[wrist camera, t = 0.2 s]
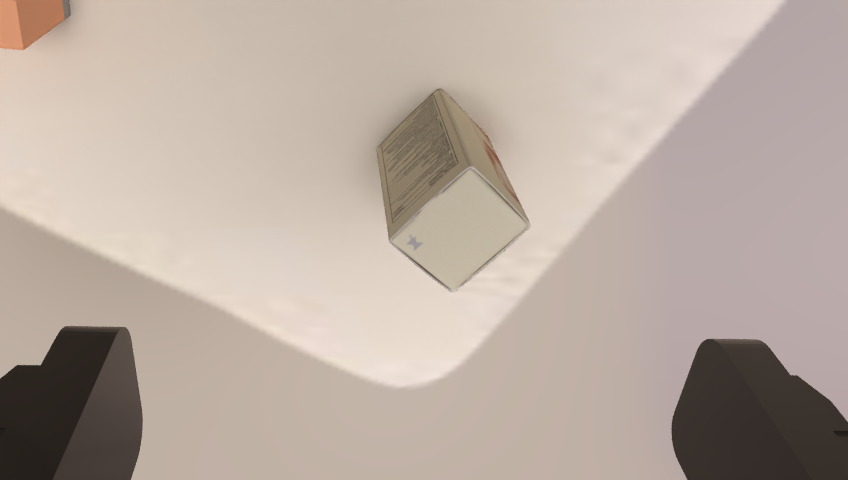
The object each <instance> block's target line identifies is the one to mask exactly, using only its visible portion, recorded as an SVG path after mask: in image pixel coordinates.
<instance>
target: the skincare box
mask: <svg viewBox="0 0 848 480" xmlns="http://www.w3.org/2000/svg"><path fill="white" fill-rule="evenodd" d="M377 156H378V163H379V171H380V178H381V186H382V192H383V200H384V207H385V214H386V221H387V229H388V236H389V242H390V243H391V244H392V245H393V246H394V247H395V248H397V249H398V250H399V251H400V252H401V253H402V254H403V255H405V256H406V257H407V258H408V259H409V260H411V261H412V262H413V263H414V264H415V265H416V266H418V267H419V268H420V269H421V270H423V271H424V272H425V273H426V274H427V275H429V276H430V277H431V278H432V279H434V280H435V281H437V282H438V283H439V284H441V285H442V286H443V287H445V288H446V289H448V290H449V291H450V292H455V291H456V290H458V289H459V288H460V287H461V286H463V285H464V284H465V283H466V282H467V281H469V280H470V279H471V278H473V277H474V276H475V275H476V274H478V273H479V272H480V271H481V270H482V269H484V268H485V267H486V266H487V265H488V264H490V263H491V262H492V261H493V260H494V259H495V258H496V257H498V256H499V255H500V254H501V253H502V252H504V251H505V250H506V249H507V248H508V247H509V246H510V245H511V244H513V243H514V242H515V241H516V240H517V239H518V238H519V237H520V236H521V235H522V234H523V233H524V232H525V231H526V230H528V229H529V228H530V223H529V220H528V218H527V216H526V214H525V212H524V210H523V208H522V206H521V204H520V202H519V200H518V198H517V196H516V193H515V191H514V189H513V187H512V185H511V183H510V181H509V179H508V177H507V175H506V173H505V171H504V169H503V167H502V165H501V163H500V161H499V159H498V157H497V155H496V153H495V151H494V149H493V146H492V144H491V142H490V140H489V138H488V137H487V135H486V134H485V133H484V132H483V131H482V130H481V129H480V128H479V127H478V126H477V125H476V124H475V122H474V121H473V120H472V119H471V118H470V117H469V116H468V115H467V114H466V113H465V112H464V111H463V110H462V109H461V108H460V107H459V106H458V105H457V104H456V103H455V102H454V101H453V100H452V99H451V98H450V97H449V96H448V95H447V94H446V93H445V92H444V91H443V90H442V89H438V90H436V91H435V92H434V93H433V94H432V95H431V96H430V97H429V98H428V99H427V100H426V101H425V102H423V103H422V104H421V105H420V106H419V107H418V108H417V109H416V110H415V111H414V112H413V113H412V114H411V115H410V116H409V117H408V118H407V119H406V120H405V121H404V122H403V123H402V124H401V125H400V126H399V127H398V128H397V129H396V130H395V131H394V132H393V133H392V134H391V135H390V136H389V137H388V138H387V139H386V140H385V141H384V142H383V143H382V144H381V145H380V146H379V147H378V148H377Z"/></svg>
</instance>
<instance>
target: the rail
mask: <svg viewBox="0 0 848 480" xmlns="http://www.w3.org/2000/svg"><path fill="white" fill-rule="evenodd" d="M69 16H70V9H69V1H68V0H0V48H6V49H17V50H24V49H26V48H27V47H28V46H30V45H31V44H32V43H34V42H35V41H36V40H38V39H39V38H40V37H42V36H43V35H44V34H46V33H47V32H48V31H50V30H51V29H52V28H54V27H55V26H56V25H58V24H59V23H60V22H62V21H63V20H65V19H66V18H67V17H69Z"/></svg>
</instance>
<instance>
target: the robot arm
mask: <svg viewBox="0 0 848 480" xmlns="http://www.w3.org/2000/svg"><path fill="white" fill-rule="evenodd" d="M142 421H143V419H142V408H141V401H140V394H139V388H138V381H137V375H136V368H135V362H134V355H133V348H132V342H131V336H130V333H129V331H128V329H127V328H125V327H88V326H84V327H83V326H66V327H64V328H62V329H61V330H60V332H59V333H58V335H57V337H56V339H55V340H54V342H53V344H52V346H51V348H50V350H49V352H48V353H47V355H46V357H45V358H44V360H43V362H42V364H41V365H39V366H38V365H17V366H15V367H14V368H13V369H12V370H11V371H9V372H8V373H7V374H6V375H5V376H3V377H2V378H1V379H0V480H131V477H132V474H133V471H134V468H135V465H136V462H137V458H138V455H139V451H140V445H141V438H142ZM672 442H673V447H674V451H675V454H676V457H677V459H678V462H679V464H680V466H681V468H682V469H683V472H684V474H685V476H686V477H687V480H848V422H847V421H846V420H845V418H844V417H843V416H842V415H841V413H840V412H839V411H838V410H837V408H836V407H835V406H834V405H833V403H832V402H831V401H830V400H829V399H827V398H826V397H825V396H823V395H822V394H820V393H819V392H818V391H817V390H815V389H814V388H813V387H811V386H810V385H809V384H807V383H806V382H805V381H803V380H802V379H801V378H800V377H798V376H793V375H792V376H791V375H790V374H789V373H788V372H787V370H786V369H785V368H784V366H783V365H782V364H781V363H780V361H779V360H778V359H777V357H776V356H775V355H774V353H773V352H772V351H771V349H770V348H769V347H768V346H767V345H766V344H765V343H764V342H762V341H760V340H748V339H742V340H741V339H707V340H705V341H703V342H702V343H701V345H700V346H699V348H698V350H697V352H696V355H695V358H694V360H693V363H692V366H691V369H690V371H689V374H688V377H687V379H686V382H685V385H684V388H683V390H682V393H681V396H680V399H679V401H678V404H677V407H676V410H675V412H674V416H673V421H672Z"/></svg>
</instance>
